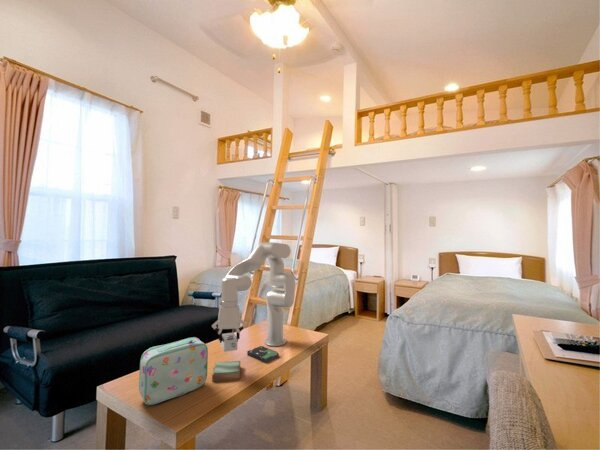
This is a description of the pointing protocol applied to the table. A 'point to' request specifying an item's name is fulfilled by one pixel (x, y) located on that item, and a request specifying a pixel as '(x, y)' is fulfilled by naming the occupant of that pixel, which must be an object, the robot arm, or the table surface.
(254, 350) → the disk drive
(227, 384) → the table surface
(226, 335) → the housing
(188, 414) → the table surface
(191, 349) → the lunch box
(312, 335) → the table surface
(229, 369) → the green and brown block
